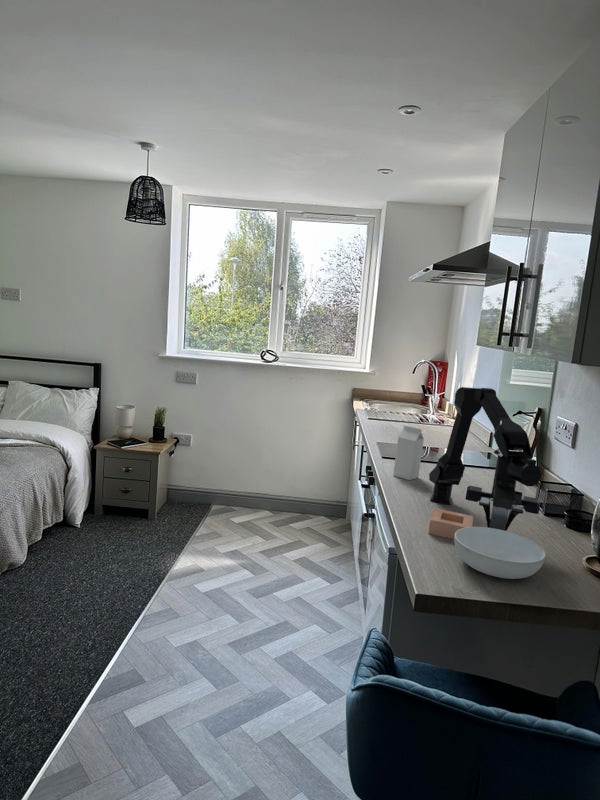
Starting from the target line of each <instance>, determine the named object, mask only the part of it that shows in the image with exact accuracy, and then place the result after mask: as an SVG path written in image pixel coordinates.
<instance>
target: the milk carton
mask: <svg viewBox="0 0 600 800" xmlns="http://www.w3.org/2000/svg"><path fill="white" fill-rule="evenodd" d="M424 439H425V438H424V436H423V433H422V429H421V428H416V427H412V426H409V425H403V428H402V430H401V431H400V433H399V434H398V437H397V444H396V449H395V450H396V451H395V459H394V465H393V474H392V475H393V477H397V478H399V479H400V478H401V479H404V480H408V481H412V480H414V479H416V478H419V475H420V467H421V461H422V453H423V446H424V441H425V440H424Z"/></svg>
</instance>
